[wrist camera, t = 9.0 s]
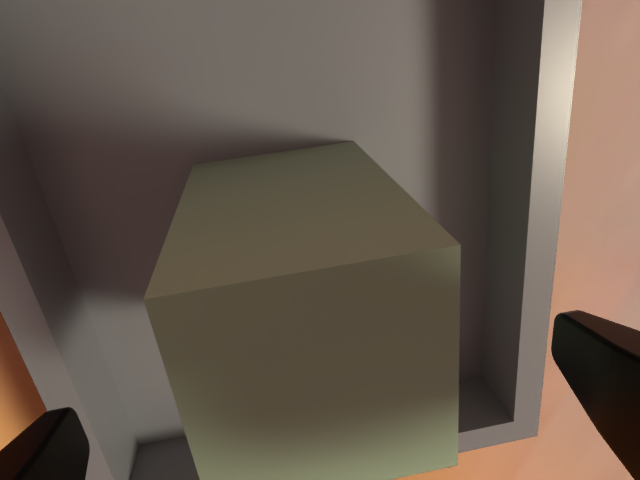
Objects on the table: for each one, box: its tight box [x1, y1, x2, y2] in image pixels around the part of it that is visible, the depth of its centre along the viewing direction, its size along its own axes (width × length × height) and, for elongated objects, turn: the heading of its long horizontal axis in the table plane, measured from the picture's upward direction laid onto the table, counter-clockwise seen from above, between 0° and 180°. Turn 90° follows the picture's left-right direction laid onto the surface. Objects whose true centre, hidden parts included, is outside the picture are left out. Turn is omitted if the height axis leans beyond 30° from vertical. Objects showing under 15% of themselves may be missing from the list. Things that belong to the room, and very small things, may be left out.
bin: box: [0, 0, 582, 480], centre depth 15 cm, size 18×16×4 cm
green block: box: [143, 141, 461, 480], centre depth 12 cm, size 5×5×8 cm
